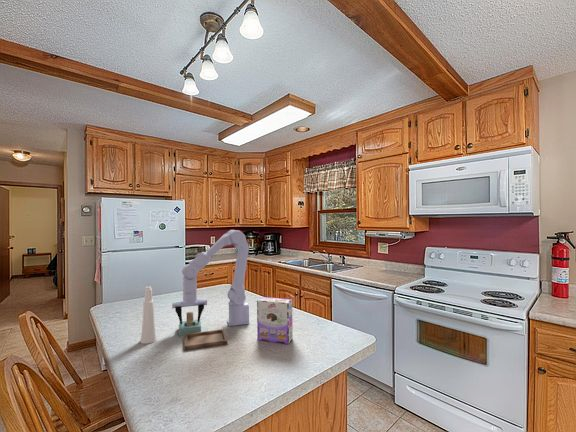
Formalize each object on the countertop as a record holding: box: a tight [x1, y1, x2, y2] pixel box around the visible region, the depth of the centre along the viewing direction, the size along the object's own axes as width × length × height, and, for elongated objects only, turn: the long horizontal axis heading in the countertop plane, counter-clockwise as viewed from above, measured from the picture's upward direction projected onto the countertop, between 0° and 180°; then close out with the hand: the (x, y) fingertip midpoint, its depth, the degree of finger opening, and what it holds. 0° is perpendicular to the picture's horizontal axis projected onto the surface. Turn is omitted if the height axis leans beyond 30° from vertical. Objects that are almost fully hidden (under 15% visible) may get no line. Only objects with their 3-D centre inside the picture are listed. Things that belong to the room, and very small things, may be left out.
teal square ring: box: [178, 319, 202, 337], centre depth 125 cm, size 9×9×3 cm
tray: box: [184, 328, 229, 351], centre depth 115 cm, size 16×12×2 cm
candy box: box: [256, 296, 294, 345], centre depth 117 cm, size 14×6×16 cm, turn 71°
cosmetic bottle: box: [139, 285, 157, 345], centre depth 115 cm, size 6×6×22 cm
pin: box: [186, 311, 194, 326], centre depth 125 cm, size 3×3×8 cm
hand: (189, 322), depth 125 cm, fingers open, 7 cm apart
